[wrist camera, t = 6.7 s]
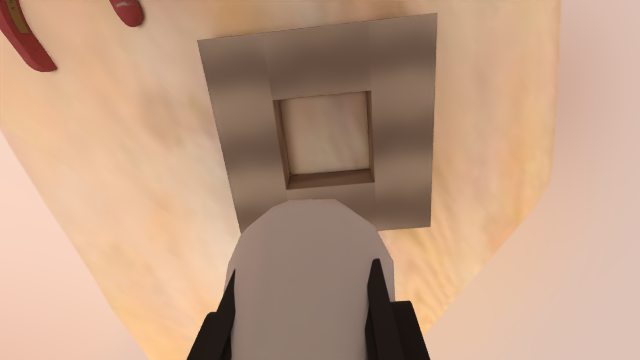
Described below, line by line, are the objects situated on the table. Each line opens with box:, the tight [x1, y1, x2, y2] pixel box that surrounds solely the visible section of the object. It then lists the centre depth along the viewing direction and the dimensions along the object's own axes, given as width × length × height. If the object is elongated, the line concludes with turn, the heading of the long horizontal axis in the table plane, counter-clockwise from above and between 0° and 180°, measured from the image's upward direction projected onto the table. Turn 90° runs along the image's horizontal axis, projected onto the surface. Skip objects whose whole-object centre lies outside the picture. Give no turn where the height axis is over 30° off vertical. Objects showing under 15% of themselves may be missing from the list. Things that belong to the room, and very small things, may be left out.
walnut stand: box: [197, 13, 437, 234], centre depth 29 cm, size 18×18×4 cm
